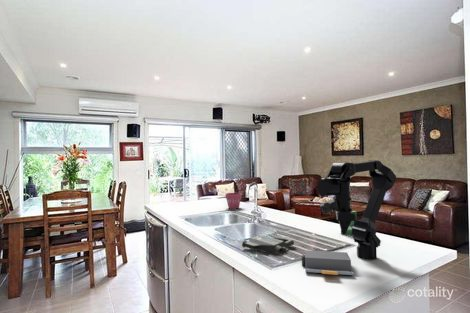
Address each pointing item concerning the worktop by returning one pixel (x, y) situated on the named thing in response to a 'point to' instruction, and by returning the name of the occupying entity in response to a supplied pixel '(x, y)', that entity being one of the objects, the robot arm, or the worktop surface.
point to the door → (329, 271)
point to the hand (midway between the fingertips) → (343, 234)
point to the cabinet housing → (326, 260)
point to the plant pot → (233, 200)
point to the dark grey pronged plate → (268, 244)
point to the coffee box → (350, 226)
